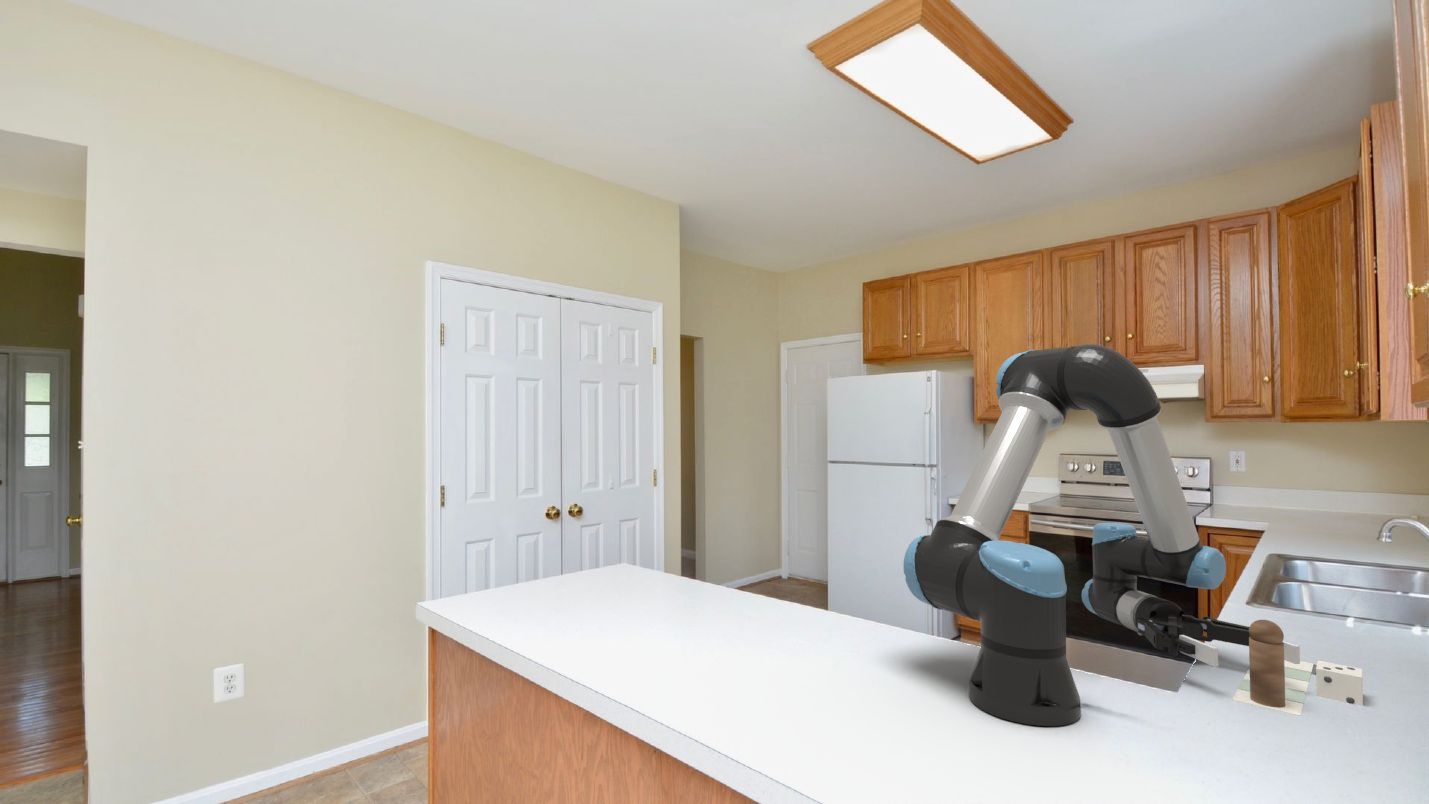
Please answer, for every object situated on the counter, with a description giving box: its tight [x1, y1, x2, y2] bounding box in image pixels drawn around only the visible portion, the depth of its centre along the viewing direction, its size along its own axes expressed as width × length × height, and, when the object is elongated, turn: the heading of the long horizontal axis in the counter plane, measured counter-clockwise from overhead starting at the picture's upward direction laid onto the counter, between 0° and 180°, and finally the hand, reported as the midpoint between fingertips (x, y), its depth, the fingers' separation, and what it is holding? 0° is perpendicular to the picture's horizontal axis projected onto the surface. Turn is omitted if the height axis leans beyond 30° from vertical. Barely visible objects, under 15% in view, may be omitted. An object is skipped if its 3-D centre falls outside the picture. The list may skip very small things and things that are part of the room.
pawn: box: [1248, 619, 1285, 707], centre depth 98 cm, size 4×4×12 cm
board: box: [1232, 660, 1317, 717], centre depth 106 cm, size 8×30×1 cm, turn 135°
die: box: [1315, 660, 1364, 707], centre depth 100 cm, size 5×5×5 cm
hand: (1257, 656), depth 100 cm, fingers open, 13 cm apart
